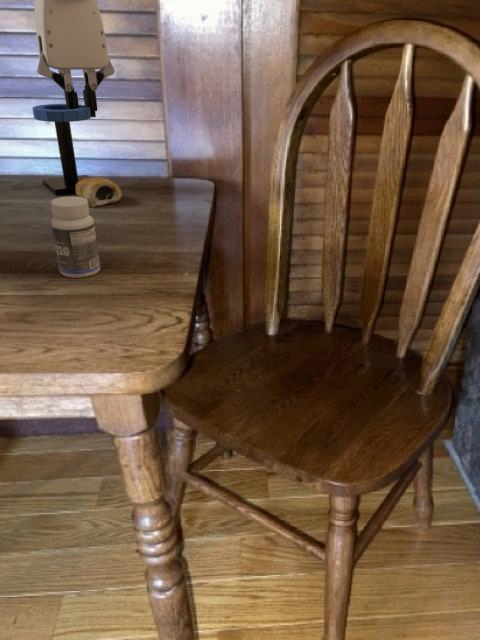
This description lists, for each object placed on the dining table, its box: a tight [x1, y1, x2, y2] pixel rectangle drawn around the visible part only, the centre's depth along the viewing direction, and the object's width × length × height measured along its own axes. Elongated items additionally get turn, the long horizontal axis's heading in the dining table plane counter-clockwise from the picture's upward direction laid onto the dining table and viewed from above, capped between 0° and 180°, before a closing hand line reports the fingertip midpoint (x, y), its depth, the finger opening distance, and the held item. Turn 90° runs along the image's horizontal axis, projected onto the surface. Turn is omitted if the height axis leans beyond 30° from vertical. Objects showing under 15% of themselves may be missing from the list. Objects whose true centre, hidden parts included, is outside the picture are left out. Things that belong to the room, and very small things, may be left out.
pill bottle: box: [50, 196, 101, 279], centre depth 66 cm, size 5×5×8 cm
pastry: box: [75, 176, 123, 208], centre depth 94 cm, size 9×7×4 cm
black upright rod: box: [41, 122, 92, 196], centre depth 98 cm, size 8×8×11 cm
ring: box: [31, 103, 92, 123], centre depth 94 cm, size 9×9×2 cm
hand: (83, 115), depth 96 cm, fingers closed on ring, 2 cm apart
